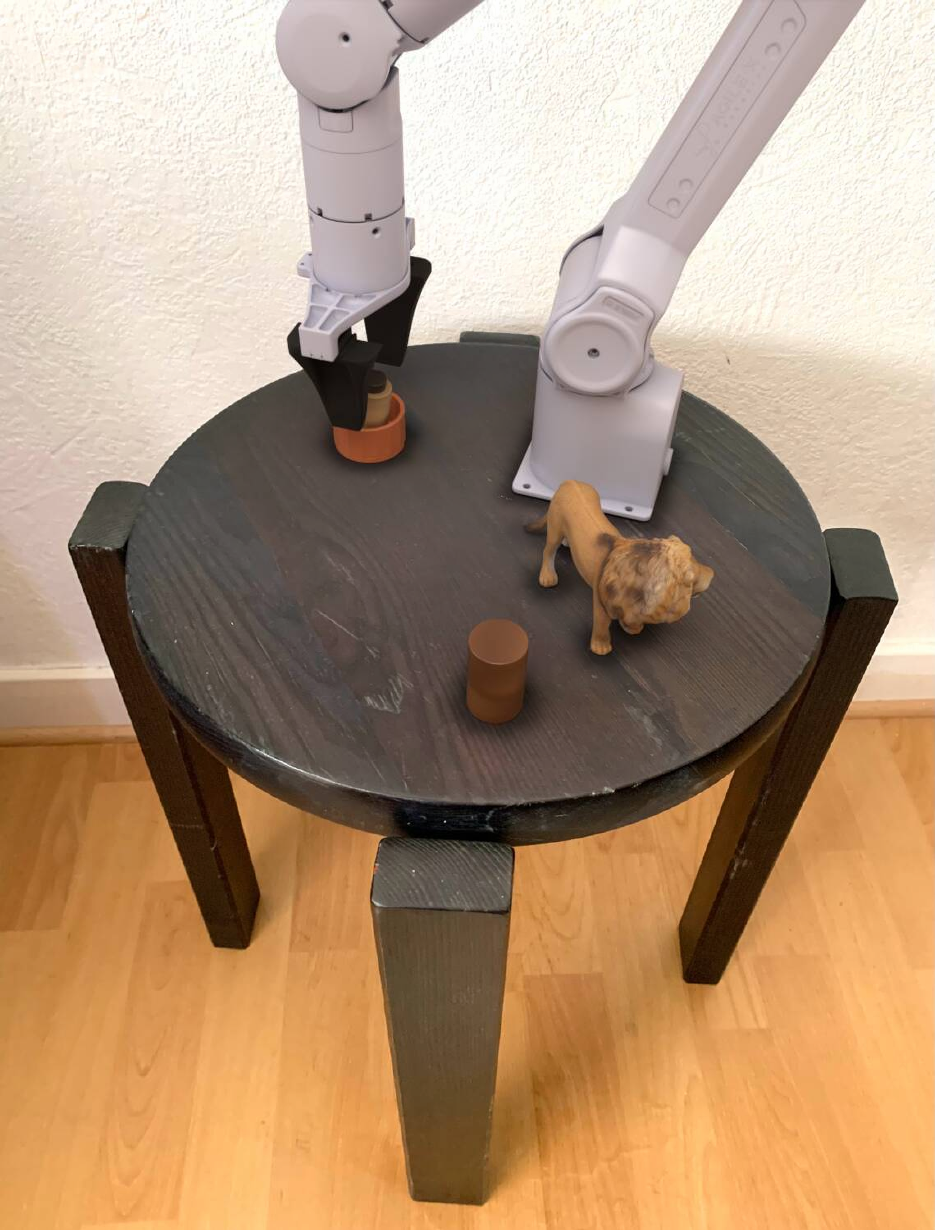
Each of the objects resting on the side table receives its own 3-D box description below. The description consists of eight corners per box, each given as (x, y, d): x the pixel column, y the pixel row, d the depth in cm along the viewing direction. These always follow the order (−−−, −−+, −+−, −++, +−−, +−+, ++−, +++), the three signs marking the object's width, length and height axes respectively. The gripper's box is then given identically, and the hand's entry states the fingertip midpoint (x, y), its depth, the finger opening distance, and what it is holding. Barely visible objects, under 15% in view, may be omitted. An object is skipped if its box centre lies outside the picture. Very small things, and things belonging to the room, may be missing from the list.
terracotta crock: (415, 427, 75) (414, 395, 73) (391, 469, 72) (389, 437, 70) (350, 413, 76) (348, 381, 74) (323, 454, 73) (320, 422, 71)
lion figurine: (703, 661, 61) (736, 550, 54) (633, 700, 59) (658, 590, 52) (553, 516, 69) (566, 405, 62) (487, 546, 67) (493, 434, 60)
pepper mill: (391, 430, 74) (398, 373, 71) (377, 451, 73) (384, 394, 69) (358, 418, 75) (363, 360, 71) (343, 439, 73) (348, 381, 69)
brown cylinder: (529, 687, 59) (535, 626, 56) (514, 730, 57) (519, 670, 54) (475, 673, 60) (478, 612, 56) (458, 715, 58) (460, 655, 54)
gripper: (339, 139, 66) (353, 326, 76) (238, 247, 57) (269, 444, 67) (444, 155, 65) (444, 344, 75) (359, 269, 56) (372, 467, 66)
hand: (368, 393), depth 71 cm, fingers open, 7 cm apart
